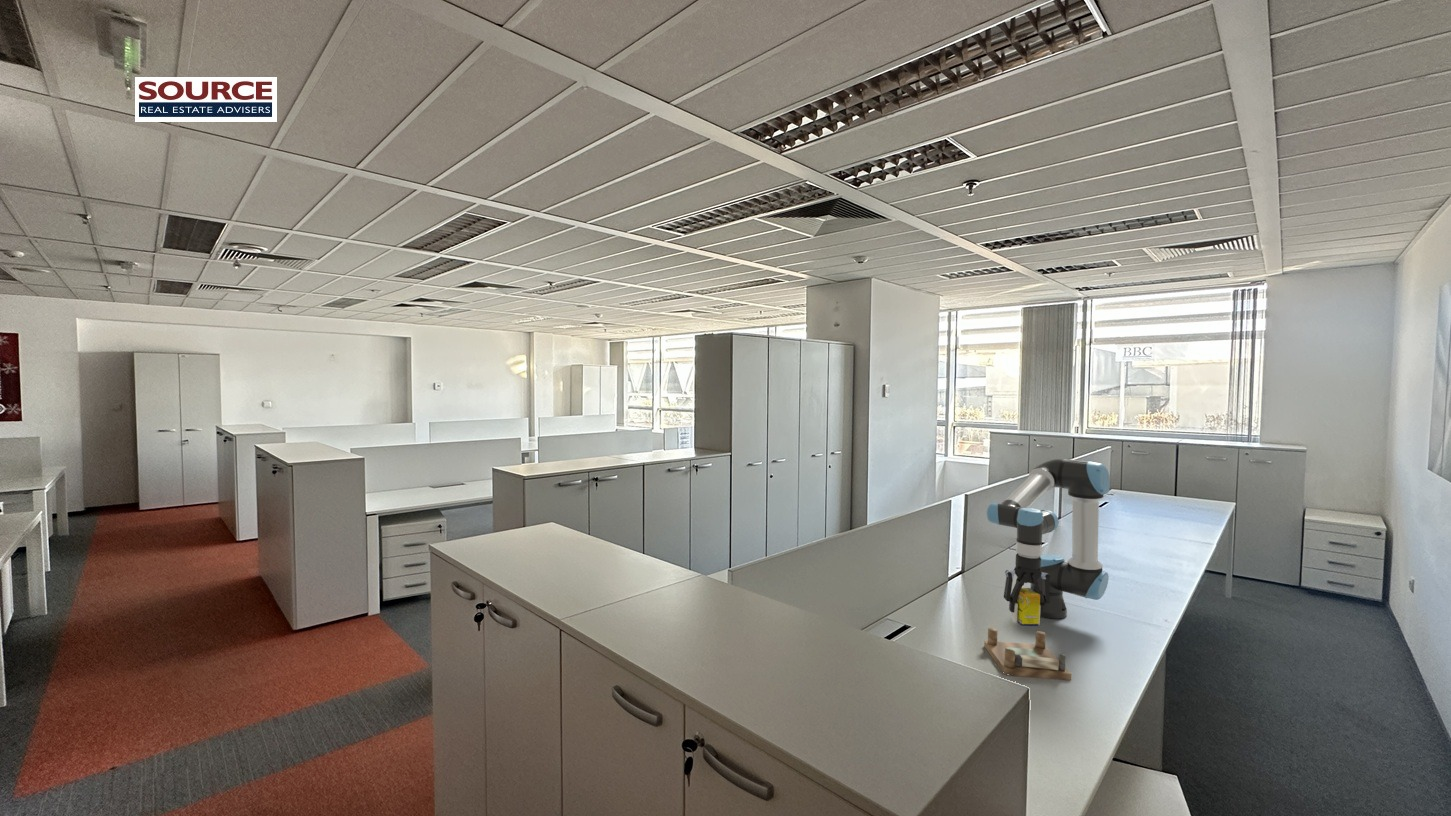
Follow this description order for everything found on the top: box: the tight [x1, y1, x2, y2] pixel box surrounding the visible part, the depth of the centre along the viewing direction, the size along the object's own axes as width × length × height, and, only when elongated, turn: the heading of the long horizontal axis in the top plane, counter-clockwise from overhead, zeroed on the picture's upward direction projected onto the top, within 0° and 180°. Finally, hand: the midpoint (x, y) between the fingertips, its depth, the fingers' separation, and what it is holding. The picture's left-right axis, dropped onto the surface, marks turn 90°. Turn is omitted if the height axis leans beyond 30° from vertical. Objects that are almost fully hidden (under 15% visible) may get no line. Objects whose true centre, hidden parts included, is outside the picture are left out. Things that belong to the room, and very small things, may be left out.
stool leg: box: [1015, 654, 1059, 670], centre depth 183 cm, size 13×3×3 cm, turn 79°
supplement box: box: [1016, 587, 1040, 627], centre depth 191 cm, size 6×6×11 cm
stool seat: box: [983, 627, 1072, 681], centre depth 190 cm, size 20×20×7 cm
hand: (1025, 622), depth 191 cm, fingers closed on supplement box, 6 cm apart
